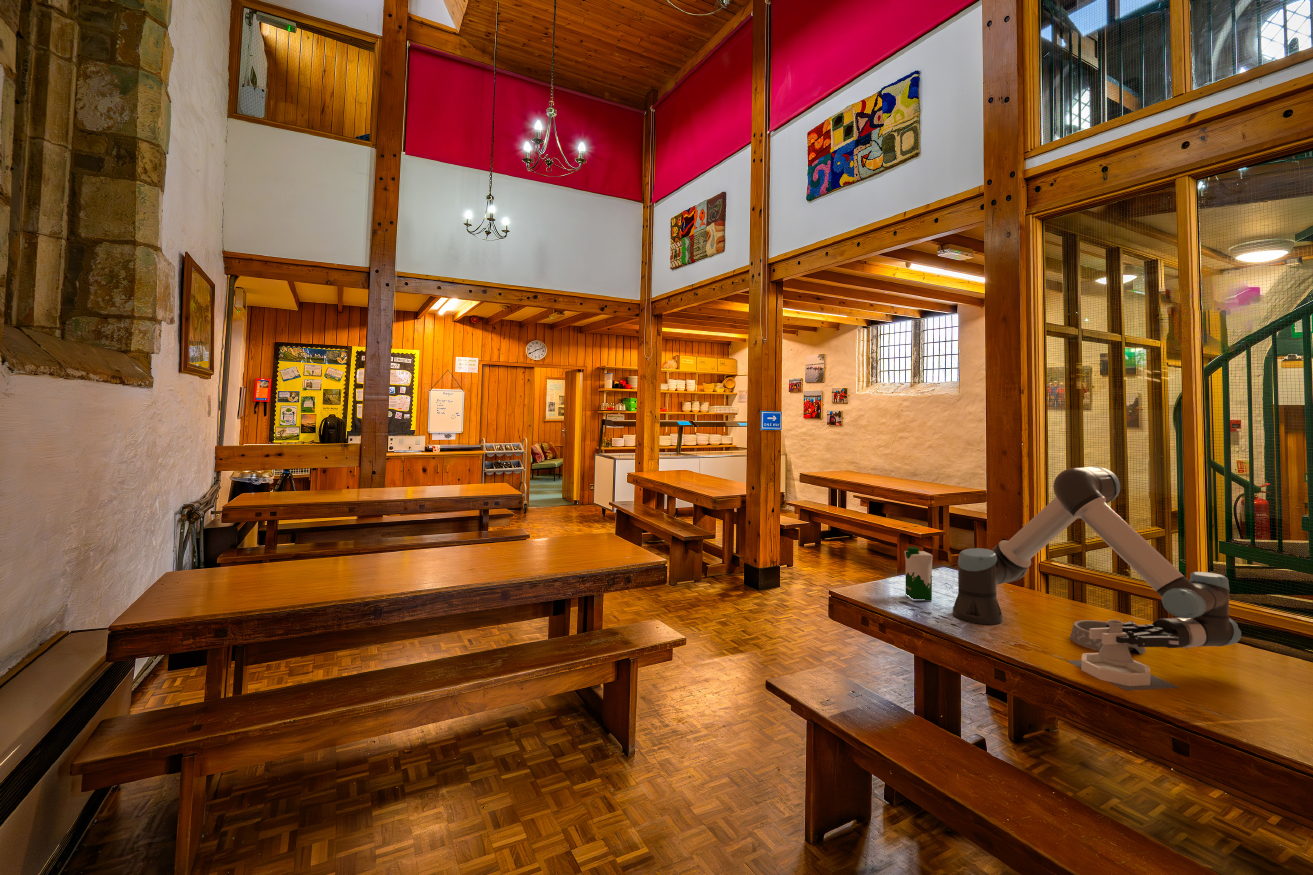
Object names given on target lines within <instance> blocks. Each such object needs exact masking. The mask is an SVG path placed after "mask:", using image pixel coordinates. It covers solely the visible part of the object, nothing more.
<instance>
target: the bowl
mask: <svg viewBox="0 0 1313 875" xmlns="http://www.w3.org/2000/svg"><path fill="white" fill-rule="evenodd" d="M1080 660H1081V668H1080V670H1081V671H1082V672H1084V673H1085V674H1088V675H1089V676H1092V677H1094V678H1096V679H1098V680H1100V681H1104V682H1107V681H1108V683H1109V682H1113V683H1117V684H1122V685H1126V686H1142V685H1150V674H1151V669H1150V666H1148V665H1147V664H1144V663H1142V662H1140V661H1138V660H1135V659H1133V661H1134V663H1119V662H1113V661H1109V660H1107V659H1104V658H1102V657H1100V655H1099V652H1086V653H1084V652H1083V653H1082V655H1081V659H1080Z"/></svg>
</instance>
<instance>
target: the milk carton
mask: <svg viewBox="0 0 1313 875" xmlns="http://www.w3.org/2000/svg"><path fill="white" fill-rule="evenodd" d="M933 556H934V555H933V554H932V553H929V552H926V550H925V551H924V550H921V551H920V549H919V547H917V546H907V550H904V560H905V595H906V594H907V595H909V596H910V597H911V598H913V599H925V600H932V601H933V598H932V597H933V596H932V595H933V576H932V575H933V559H934V558H933Z"/></svg>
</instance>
